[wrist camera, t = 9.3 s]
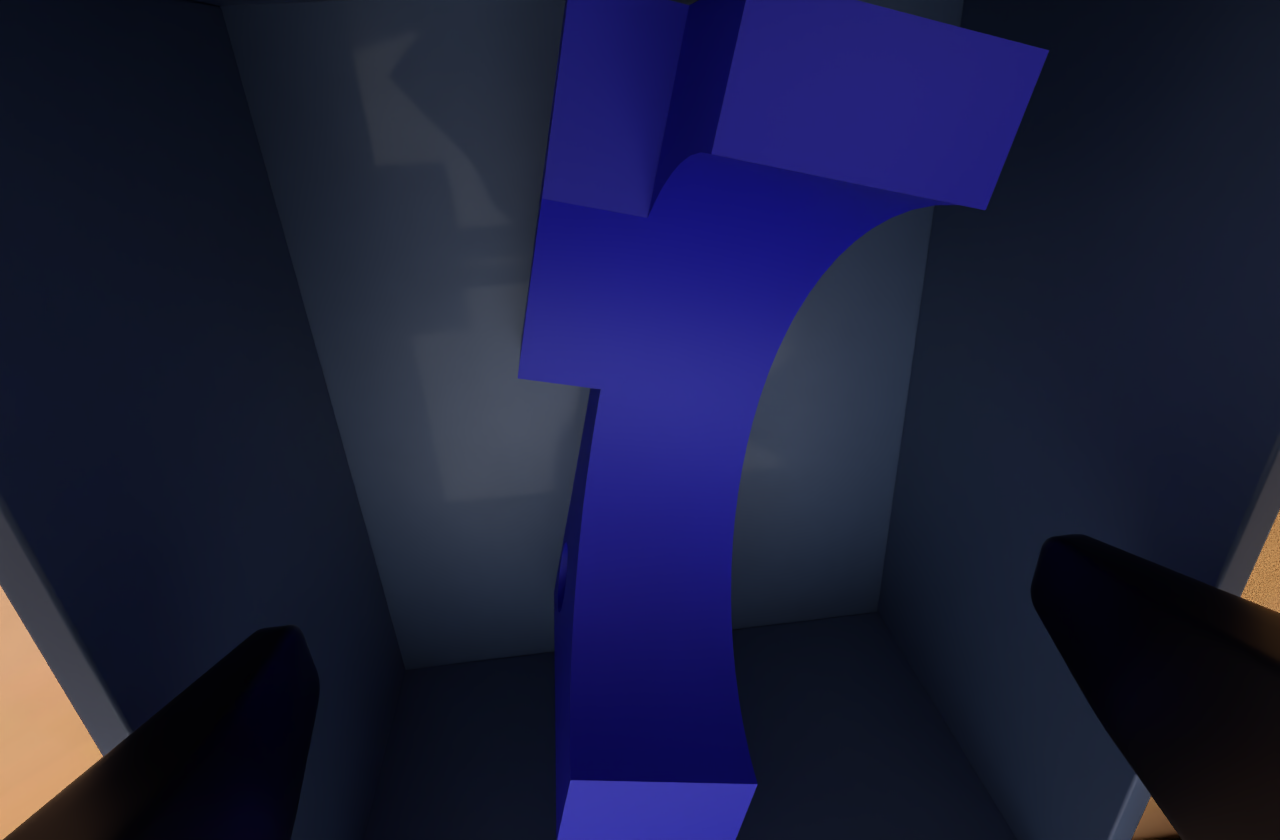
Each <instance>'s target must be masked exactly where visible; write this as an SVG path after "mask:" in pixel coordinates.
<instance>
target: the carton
mask: <svg viewBox="0 0 1280 840" xmlns="http://www.w3.org/2000/svg"><path fill="white" fill-rule="evenodd" d="M670 1H674V2H678V3H682V4H686V5H691V4H693V3H695V2H696V1H698V0H670ZM858 1H862V2H866V3H869V4H873V5H877V6H881V7H885V8H889V9H892V10H896V11H900V12H904V13H908V14H912V15H915V16H919V17H923V18H927V19H931V20H935V21H938V22H942V23H946V24H950V25H954V26H958V27H961V28H965V29H969V30H973V31H977V32H981V33H984V34H988V35H992V36H996V37H1000V38H1004V39H1007V40H1011V41H1015V42H1019V43H1023V44H1027V45H1030V46H1034V47H1038V48H1042V49H1046V50H1049V52H1048V55H1047V57H1046V60H1045V62H1044V65H1043V67H1042V70H1041V72H1040V75H1039V77H1038V80H1037V82H1036V85H1035V87H1034V90H1033V92H1032V95H1031V97H1030V100H1029V103H1028V105H1027V108H1026V110H1025V113H1024V115H1023V118H1022V120H1021V123H1020V125H1019V128H1018V130H1017V133H1016V135H1015V138H1014V140H1013V143H1012V145H1011V148H1010V150H1009V153H1008V155H1007V158H1006V160H1005V163H1004V165H1003V168H1002V170H1001V173H1000V176H999V178H998V181H997V183H996V186H995V188H994V191H993V193H992V196H991V198H990V201H989V203H988V206H987V208H986V210H981V209H976V208H971V207H966V206H961V205H934V206H929V207H924V208H919V209H914V210H911V211H908V212H905V213H903V214H900V215H897V216H895V217H892V218H890V219H888V220H887V221H885V222H883V223H881V224H880V225H878V226H876V227H874V228H872V229H871V230H870V231H868V232H867V233H866V234H864V235H863V236H862V237H860V238H859V239H858V240H856V241H855V242H854V243H853V244H852V245H851V246H850V247H848V248H847V249H846V250H845V251H844V252H843V253H842V254H841V255H840V256H839V257H838V258H837V259H836V260H835V261H834V262H833V264H832V265H831V266H830V267H829V268H828V269H827V270H826V272H825V273H824V274H823V275H822V276H821V278H820V279H819V281H818V282H817V283H816V285H815V286H814V287H813V289H812V290H811V291H810V293H809V294H808V296H807V298H806V299H805V301H804V302H803V304H802V306H801V307H800V309H799V310H798V312H797V314H796V316H795V317H794V319H793V321H792V323H791V325H790V327H789V329H788V330H787V332H786V334H785V336H784V339H783V341H782V343H781V345H780V347H779V349H778V351H777V354H776V356H775V358H774V361H773V363H772V366H771V368H770V371H769V373H768V376H767V379H766V382H765V385H764V387H763V390H762V393H761V396H760V399H759V403H758V406H757V409H756V413H755V416H754V419H753V423H752V427H751V431H750V435H749V439H748V443H747V448H746V453H745V457H744V462H743V467H742V473H741V479H740V485H739V491H738V498H737V506H736V514H735V524H734V535H733V548H732V567H731V620H732V638H733V652H734V663H735V674H736V681H737V689H738V696H739V703H740V709H741V714H742V720H743V726H744V731H745V735H746V740H747V744H748V749H749V754H750V758H751V761H752V765H753V769H754V773H755V776H756V780H757V784H758V785H757V787H756V790H755V792H754V795H753V797H752V800H751V802H750V805H749V807H748V810H747V812H746V815H745V817H744V820H743V822H742V825H741V827H740V830H739V832H738V835H737V837H736V840H1131V839H1132V837H1133V835H1134V832H1135V830H1136V828H1137V826H1138V823H1139V821H1140V819H1141V817H1142V815H1143V812H1144V810H1145V808H1146V806H1147V803H1148V801H1149V799H1150V797H1151V795H1150V793H1149V792H1148V790H1147V789H1146V787H1145V786H1144V785H1143V783H1142V782H1141V780H1140V779H1139V777H1138V776H1137V775H1136V773H1135V772H1134V770H1133V769H1132V767H1131V766H1130V765H1129V763H1128V762H1127V760H1126V759H1125V757H1124V756H1123V755H1122V753H1121V752H1120V750H1119V749H1118V747H1117V746H1116V745H1115V743H1114V742H1113V740H1112V739H1111V737H1110V736H1109V734H1108V733H1107V731H1106V730H1105V728H1104V727H1103V725H1102V724H1101V722H1100V721H1099V719H1098V718H1097V716H1096V714H1095V713H1094V711H1093V710H1092V708H1091V706H1090V705H1089V703H1088V701H1087V700H1086V698H1085V696H1084V694H1083V693H1082V691H1081V689H1080V687H1079V686H1078V684H1077V682H1076V680H1075V679H1074V677H1073V675H1072V673H1071V672H1070V670H1069V668H1068V666H1067V665H1066V663H1065V661H1064V659H1063V658H1062V656H1061V654H1060V652H1059V651H1058V649H1057V647H1056V645H1055V644H1054V642H1053V640H1052V638H1051V637H1050V635H1049V633H1048V631H1047V630H1046V628H1045V626H1044V624H1043V623H1042V621H1041V619H1040V617H1039V616H1038V614H1037V612H1036V610H1035V608H1034V606H1033V603H1032V600H1031V594H1030V588H1031V583H1032V580H1033V576H1034V572H1035V569H1036V565H1037V561H1038V558H1039V554H1040V550H1041V547H1042V544H1043V543H1044V542H1045V541H1046V539H1048V538H1050V537H1053V536H1061V535H1069V534H1083V535H1087V536H1089V537H1092V538H1094V539H1097V540H1099V541H1102V542H1104V543H1107V544H1109V545H1112V546H1114V547H1117V548H1119V549H1122V550H1124V551H1126V552H1129V553H1131V554H1134V555H1136V556H1139V557H1141V558H1144V559H1146V560H1149V561H1151V562H1154V563H1156V564H1159V565H1161V566H1164V567H1166V568H1169V569H1171V570H1174V571H1176V572H1179V573H1181V574H1184V575H1186V576H1189V577H1191V578H1194V579H1196V580H1199V581H1201V582H1203V583H1206V584H1208V585H1211V586H1213V587H1216V588H1218V589H1221V590H1223V591H1226V592H1228V593H1231V594H1233V595H1236V596H1238V597H1241V594H1242V592H1243V590H1244V588H1245V586H1246V583H1247V581H1248V579H1249V577H1250V574H1251V572H1252V570H1253V568H1254V566H1255V563H1256V561H1257V559H1258V557H1259V554H1260V552H1261V550H1262V548H1263V546H1264V543H1265V541H1266V539H1267V537H1268V534H1269V532H1270V530H1271V528H1272V526H1273V523H1274V521H1275V519H1276V517H1277V514H1278V512H1279V510H1280V0H858ZM564 8H565V0H0V585H1V587H2V589H3V590H4V592H5V594H6V595H7V597H8V599H9V600H10V602H11V604H12V605H13V607H14V609H15V610H16V612H17V614H18V615H19V617H20V619H21V620H22V622H23V624H24V625H25V627H26V629H27V630H28V632H29V634H30V635H31V637H32V639H33V640H34V642H35V644H36V645H37V647H38V649H39V650H40V652H41V654H42V655H43V657H44V659H45V660H46V662H47V664H48V665H49V667H50V669H51V670H52V672H53V674H54V675H55V677H56V679H57V680H58V682H59V684H60V685H61V687H62V689H63V690H64V692H65V694H66V695H67V697H68V699H69V700H70V702H71V704H72V705H73V707H74V709H75V710H76V712H77V714H78V715H79V717H80V719H81V720H82V722H83V724H84V725H85V727H86V729H87V730H88V732H89V734H90V735H91V737H92V739H93V740H94V742H95V744H96V745H97V747H98V749H99V750H100V752H101V754H102V755H103V757H104V756H105V755H106V754H107V753H108V752H110V751H111V750H112V749H113V748H115V747H116V746H117V745H118V744H119V743H121V742H122V741H123V740H124V739H125V738H127V737H128V736H129V735H130V734H131V733H133V732H134V731H135V730H136V729H138V728H139V727H140V726H141V725H142V724H144V723H145V722H146V721H147V720H148V719H150V718H151V717H152V716H153V715H154V714H156V713H157V712H158V711H159V710H161V709H162V708H163V707H164V706H165V705H167V704H168V703H169V702H170V701H171V700H173V699H174V698H175V697H176V696H177V695H179V694H180V693H181V692H182V691H184V690H185V689H186V688H187V687H188V686H190V685H191V684H192V683H193V682H194V681H196V680H197V679H198V678H199V677H201V676H202V675H203V674H204V673H205V672H207V671H208V670H209V669H210V668H211V667H213V666H214V665H215V664H216V663H217V662H219V661H220V660H221V659H222V658H224V657H225V656H226V655H227V654H228V653H230V652H231V651H232V650H233V649H234V648H236V647H237V646H238V645H239V644H240V643H242V642H243V641H244V640H245V639H247V638H248V637H249V636H250V635H251V634H253V633H254V632H256V631H257V630H259V629H262V628H266V627H275V626H283V625H296V626H298V627H299V628H300V629H301V630H302V632H303V634H304V636H305V639H306V642H307V644H308V647H309V650H310V653H311V656H312V658H313V661H314V664H315V667H316V670H317V672H318V676H319V681H320V695H319V701H318V706H317V711H316V717H315V722H314V727H313V732H312V737H311V742H310V748H309V753H308V758H307V763H306V768H305V773H304V779H303V784H302V789H301V794H300V799H299V804H298V809H297V814H296V819H295V823H294V828H293V832H292V836H291V839H290V840H556V747H555V645H554V590H555V584H556V578H557V573H558V567H559V562H560V556H561V551H562V545H563V539H564V534H565V528H566V523H567V517H568V511H569V506H570V500H571V495H572V489H573V484H574V478H575V472H576V467H577V461H578V456H579V450H580V444H581V439H582V433H583V428H584V422H585V417H586V411H587V405H588V400H589V394H590V389H591V388H586V387H579V386H571V385H564V384H556V383H548V382H541V381H533V380H526V379H518V370H519V360H520V350H521V342H522V335H523V327H524V319H525V311H526V303H527V296H528V288H529V280H530V272H531V265H532V257H533V249H534V241H535V234H536V226H537V218H538V210H539V202H540V195H541V187H542V179H543V171H544V164H545V156H546V148H547V140H548V132H549V125H550V117H551V109H552V101H553V94H554V86H555V78H556V70H557V63H558V55H559V47H560V39H561V31H562V24H563V16H564Z"/></svg>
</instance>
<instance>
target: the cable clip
mask: <svg viewBox="0 0 1280 840" xmlns="http://www.w3.org/2000/svg"><path fill="white" fill-rule="evenodd" d="M1048 52H1049V50H1046V49H1042V48H1038V47H1034V46H1030V45H1027V44H1023V43H1019V42H1015V41H1011V40H1007V39H1004V38H1000V37H996V36H992V35H988V34H984V33H981V32H977V31H973V30H969V29H965V28H961V27H958V26H954V25H950V24H946V23H942V22H938V21H935V20H931V19H927V18H923V17H919V16H915V15H912V14H908V13H904V12H900V11H896V10H892V9H889V8H885V7H881V6H877V5H873V4H869V3H866V2H862V1H858V0H698V1H696V2H695V3H693V4H691V5H686V4H682V3H678V2H674V1H670V0H565V8H564V16H563V24H562V31H561V39H560V47H559V55H558V63H557V70H556V78H555V86H554V94H553V101H552V109H551V117H550V125H549V132H548V140H547V148H546V156H545V164H544V171H543V179H542V187H541V195H540V202H539V210H538V218H537V226H536V234H535V241H534V249H533V257H532V265H531V272H530V280H529V288H528V296H527V303H526V311H525V319H524V327H523V335H522V342H521V350H520V360H519V370H518V379H526V380H533V381H541V382H548V383H556V384H564V385H571V386H579V387H586V388H591V389H590V394H589V400H588V405H587V411H586V417H585V422H584V428H583V433H582V439H581V444H580V450H579V456H578V461H577V467H576V472H575V478H574V484H573V489H572V495H571V500H570V506H569V511H568V517H567V523H566V528H565V534H564V539H563V545H562V551H561V556H560V562H559V567H558V573H557V578H556V584H555V590H554V645H555V747H556V840H736V837H737V835H738V832H739V830H740V827H741V825H742V822H743V820H744V817H745V815H746V812H747V810H748V807H749V805H750V802H751V800H752V797H753V795H754V792H755V790H756V787H757V785H758V784H757V780H756V776H755V773H754V769H753V765H752V761H751V758H750V754H749V749H748V744H747V740H746V735H745V731H744V726H743V720H742V714H741V709H740V703H739V696H738V689H737V681H736V674H735V663H734V652H733V638H732V620H731V567H732V548H733V535H734V524H735V514H736V506H737V498H738V491H739V485H740V479H741V473H742V467H743V462H744V457H745V453H746V448H747V443H748V439H749V435H750V431H751V427H752V423H753V419H754V416H755V413H756V409H757V406H758V403H759V399H760V396H761V393H762V390H763V387H764V385H765V382H766V379H767V376H768V373H769V371H770V368H771V366H772V363H773V361H774V358H775V356H776V354H777V351H778V349H779V347H780V345H781V343H782V341H783V339H784V336H785V334H786V332H787V330H788V329H789V327H790V325H791V323H792V321H793V319H794V317H795V316H796V314H797V312H798V310H799V309H800V307H801V306H802V304H803V302H804V301H805V299H806V298H807V296H808V294H809V293H810V291H811V290H812V289H813V287H814V286H815V285H816V283H817V282H818V281H819V279H820V278H821V276H822V275H823V274H824V273H825V272H826V270H827V269H828V268H829V267H830V266H831V265H832V264H833V262H834V261H835V260H836V259H837V258H838V257H839V256H840V255H841V254H842V253H843V252H844V251H845V250H846V249H847V248H848V247H850V246H851V245H852V244H853V243H854V242H855V241H856V240H858V239H859V238H860V237H862V236H863V235H864V234H866V233H867V232H868V231H870V230H871V229H872V228H874V227H876V226H878V225H880V224H881V223H883V222H885V221H887V220H888V219H890V218H892V217H895V216H897V215H900V214H903V213H905V212H908V211H911V210H914V209H919V208H924V207H929V206H934V205H961V206H966V207H971V208H976V209H981V210H986V208H987V206H988V203H989V201H990V198H991V196H992V193H993V191H994V188H995V186H996V183H997V181H998V178H999V176H1000V173H1001V170H1002V168H1003V165H1004V163H1005V160H1006V158H1007V155H1008V153H1009V150H1010V148H1011V145H1012V143H1013V140H1014V138H1015V135H1016V133H1017V130H1018V128H1019V125H1020V123H1021V120H1022V118H1023V115H1024V113H1025V110H1026V108H1027V105H1028V103H1029V100H1030V97H1031V95H1032V92H1033V90H1034V87H1035V85H1036V82H1037V80H1038V77H1039V75H1040V72H1041V70H1042V67H1043V65H1044V62H1045V60H1046V57H1047V55H1048Z"/></svg>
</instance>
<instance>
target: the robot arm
mask: <svg viewBox="0 0 1280 840" xmlns="http://www.w3.org/2000/svg"><path fill="white" fill-rule="evenodd" d="M1030 594H1031V600H1032V603H1033V606H1034V608H1035V610H1036V612H1037V614H1038V616H1039V617H1040V619H1041V621H1042V623H1043V624H1044V626H1045V628H1046V630H1047V631H1048V633H1049V635H1050V637H1051V638H1052V640H1053V642H1054V644H1055V645H1056V647H1057V649H1058V651H1059V652H1060V654H1061V656H1062V658H1063V659H1064V661H1065V663H1066V665H1067V666H1068V668H1069V670H1070V672H1071V673H1072V675H1073V677H1074V679H1075V680H1076V682H1077V684H1078V686H1079V687H1080V689H1081V691H1082V693H1083V694H1084V696H1085V698H1086V700H1087V701H1088V703H1089V705H1090V706H1091V708H1092V710H1093V711H1094V713H1095V714H1096V716H1097V718H1098V719H1099V721H1100V722H1101V724H1102V725H1103V727H1104V728H1105V730H1106V731H1107V733H1108V734H1109V736H1110V737H1111V739H1112V740H1113V742H1114V743H1115V745H1116V746H1117V747H1118V749H1119V750H1120V752H1121V753H1122V755H1123V756H1124V757H1125V759H1126V760H1127V762H1128V763H1129V765H1130V766H1131V767H1132V769H1133V770H1134V772H1135V773H1136V775H1137V776H1138V777H1139V779H1140V780H1141V782H1142V783H1143V785H1144V786H1145V787H1146V789H1147V790H1148V792H1149V793H1150V795H1151V796H1152V797H1153V799H1154V800H1155V802H1156V803H1157V805H1158V806H1159V807H1160V809H1161V810H1162V812H1163V813H1164V815H1165V816H1166V817H1167V819H1168V820H1169V822H1170V823H1171V825H1172V826H1173V827H1174V829H1175V830H1176V832H1177V833H1178V835H1179V836H1180V837H1181V839H1178V840H1280V613H1278V612H1276V611H1273V610H1271V609H1268V608H1266V607H1263V606H1261V605H1258V604H1256V603H1253V602H1251V601H1248V600H1246V599H1243V598H1241V597H1238V596H1236V595H1233V594H1231V593H1228V592H1226V591H1223V590H1221V589H1218V588H1216V587H1213V586H1211V585H1208V584H1206V583H1203V582H1201V581H1199V580H1196V579H1194V578H1191V577H1189V576H1186V575H1184V574H1181V573H1179V572H1176V571H1174V570H1171V569H1169V568H1166V567H1164V566H1161V565H1159V564H1156V563H1154V562H1151V561H1149V560H1146V559H1144V558H1141V557H1139V556H1136V555H1134V554H1131V553H1129V552H1126V551H1124V550H1122V549H1119V548H1117V547H1114V546H1112V545H1109V544H1107V543H1104V542H1102V541H1099V540H1097V539H1094V538H1092V537H1089V536H1087V535H1083V534H1069V535H1061V536H1053V537H1050V538H1048V539H1046V541H1045V542H1044V543H1043V544H1042V547H1041V550H1040V554H1039V558H1038V561H1037V565H1036V569H1035V572H1034V576H1033V580H1032V583H1031V588H1030ZM319 695H320V681H319V676H318V672H317V670H316V667H315V664H314V661H313V658H312V656H311V653H310V650H309V647H308V644H307V642H306V639H305V636H304V634H303V632H302V630H301V629H300V628H299V627H298V626H296V625H283V626H275V627H266V628H262V629H259V630H257V631H256V632H254V633H253V634H251V635H250V636H249V637H248V638H247V639H245V640H244V641H243V642H242V643H240V644H239V645H238V646H237V647H236V648H234V649H233V650H232V651H231V652H230V653H228V654H227V655H226V656H225V657H224V658H222V659H221V660H220V661H219V662H217V663H216V664H215V665H214V666H213V667H211V668H210V669H209V670H208V671H207V672H205V673H204V674H203V675H202V676H201V677H199V678H198V679H197V680H196V681H194V682H193V683H192V684H191V685H190V686H188V687H187V688H186V689H185V690H184V691H182V692H181V693H180V694H179V695H177V696H176V697H175V698H174V699H173V700H171V701H170V702H169V703H168V704H167V705H165V706H164V707H163V708H162V709H161V710H159V711H158V712H157V713H156V714H154V715H153V716H152V717H151V718H150V719H148V720H147V721H146V722H145V723H144V724H142V725H141V726H140V727H139V728H138V729H136V730H135V731H134V732H133V733H131V734H130V735H129V736H128V737H127V738H125V739H124V740H123V741H122V742H121V743H119V744H118V745H117V746H116V747H115V748H113V749H112V750H111V751H110V752H108V753H107V754H106V755H105V756H104V757H102V758H101V759H100V760H99V761H98V762H96V763H95V764H94V765H93V766H91V767H90V768H89V769H88V770H87V771H85V772H84V773H83V774H82V775H81V776H79V777H78V778H77V779H76V780H75V781H73V782H72V783H71V784H70V785H68V786H67V787H66V788H65V789H64V790H62V791H61V792H60V793H59V794H58V795H56V796H55V797H54V798H53V799H52V800H50V801H49V802H48V803H47V804H45V805H44V806H43V807H42V808H41V809H39V810H38V811H37V812H36V813H35V814H33V815H32V816H31V817H30V818H29V819H27V820H26V821H25V822H24V823H22V824H21V825H20V826H19V827H18V828H16V829H15V830H14V831H13V832H12V833H10V834H9V835H8V836H7V837H5V838H4V839H3V840H290V839H291V836H292V832H293V828H294V823H295V819H296V814H297V809H298V804H299V799H300V794H301V789H302V784H303V779H304V773H305V768H306V763H307V758H308V753H309V748H310V742H311V737H312V732H313V727H314V722H315V717H316V711H317V706H318V701H319Z"/></svg>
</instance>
